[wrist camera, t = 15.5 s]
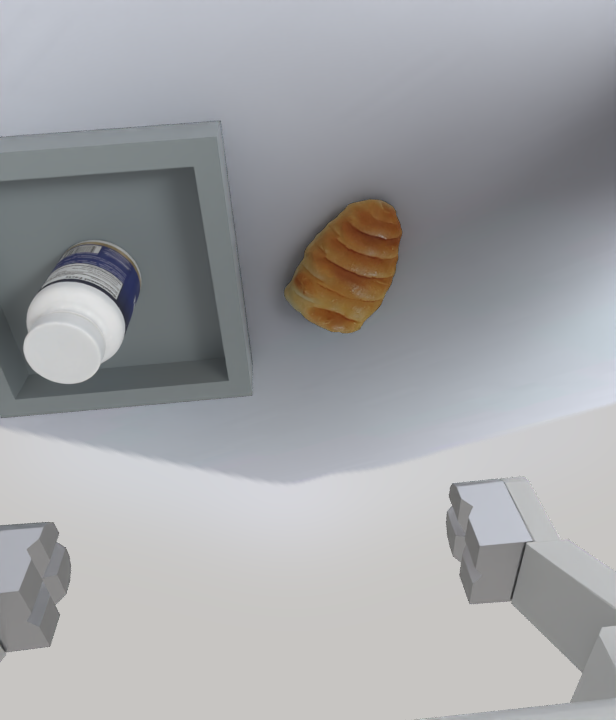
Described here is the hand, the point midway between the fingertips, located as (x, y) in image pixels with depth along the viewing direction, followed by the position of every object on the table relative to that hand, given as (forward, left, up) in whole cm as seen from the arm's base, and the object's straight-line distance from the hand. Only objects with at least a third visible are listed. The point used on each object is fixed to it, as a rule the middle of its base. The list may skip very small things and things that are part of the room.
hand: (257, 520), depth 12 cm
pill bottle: (+11, +7, -28) cm, 31 cm away
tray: (+11, +7, -29) cm, 32 cm away
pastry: (-5, +8, -30) cm, 31 cm away
